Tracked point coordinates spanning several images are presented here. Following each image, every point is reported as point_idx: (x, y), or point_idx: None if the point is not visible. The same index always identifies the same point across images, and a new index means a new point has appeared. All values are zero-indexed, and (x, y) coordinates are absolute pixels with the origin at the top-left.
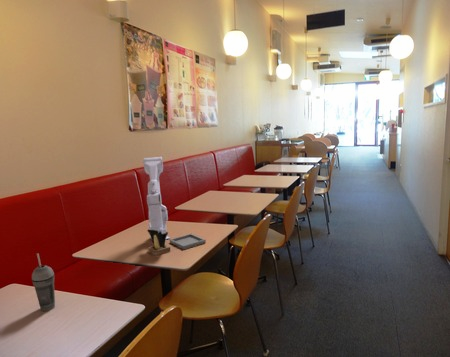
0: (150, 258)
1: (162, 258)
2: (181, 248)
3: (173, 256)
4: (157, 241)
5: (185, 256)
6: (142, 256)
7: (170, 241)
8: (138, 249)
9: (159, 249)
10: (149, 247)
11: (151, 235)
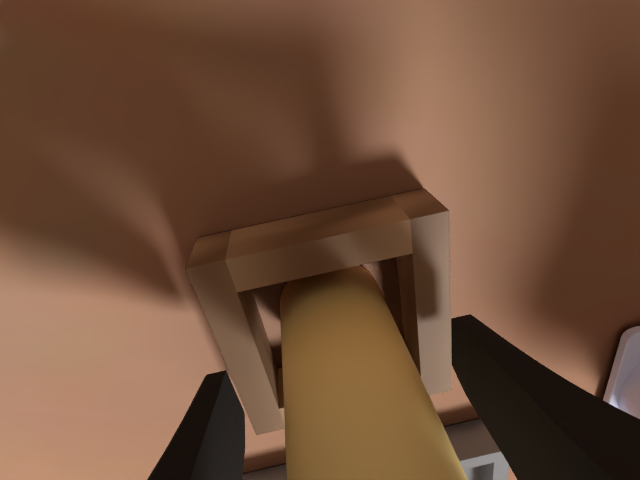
0: (109, 154)
1: (45, 293)
2: (263, 471)
3: (71, 395)
4: (293, 422)
5: (27, 473)
6: (264, 56)
7: (486, 435)
8: (606, 73)
9: (243, 332)
10: (424, 230)
11: (557, 433)
